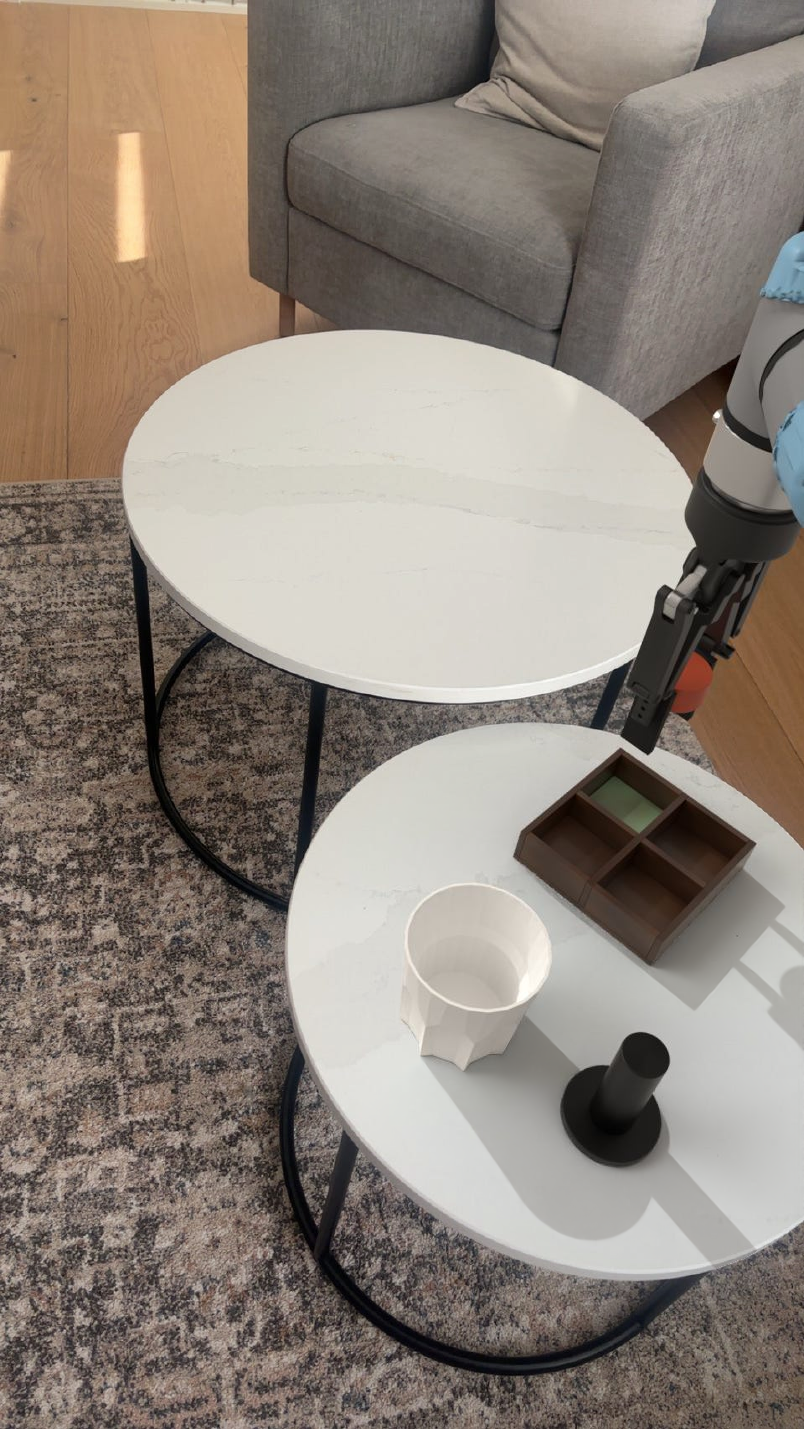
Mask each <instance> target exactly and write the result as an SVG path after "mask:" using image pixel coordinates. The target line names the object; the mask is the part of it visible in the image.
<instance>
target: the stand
mask: <svg viewBox="0 0 804 1429" xmlns="http://www.w3.org/2000/svg"><path fill="white" fill-rule="evenodd" d="M670 1065H671V1057H670V1053H669V1050H668V1047H667V1046H666V1044H665V1043H664V1042H663V1041H662V1040H661V1039H660V1038H659V1037H657V1036H656V1035H654V1034H652V1033H649V1032H646V1031H636V1032H632V1033H630V1034H628V1035H627V1036H626V1037H625V1038H623V1040H622V1042H621V1043H620V1046H619V1048H618V1049H617V1051H616V1053H615V1056H614V1057H613V1059H612V1060H611V1063H610V1064H598V1065H592V1066H588V1067H585V1068H583V1069H581V1070H580V1071H579V1072H577V1073H576V1074H575V1075H574V1076H573V1077H572V1078H571V1079H570V1080H569V1081H568V1083H567V1084H566V1087H565V1089H564V1091H563V1093H562V1096H561V1101H560V1109H559V1110H560V1119H561V1123H562V1126H563V1129H564V1132H565V1133H566V1135H567V1137H568V1139H569V1140H570V1142H571V1143H572V1144H573V1145H574V1146H575V1148H576V1149H577V1150H578V1151H579V1152H580V1153H582V1154H583V1156H585V1157H587V1158H588V1159H590V1160H592V1161H594V1162H596V1163H598V1164H601V1165H603V1166H608V1167H613V1168H614V1167H616V1168H623V1167H628V1166H633V1165H635V1164H638V1163H639V1162H642V1161H643V1160H644V1159H645V1158H646V1157H648V1156H649V1155H650V1153H651V1152H652V1151H653V1149H654V1148H655V1146H656V1145H657V1144H658V1142H659V1139H660V1136H661V1132H662V1126H663V1124H662V1115H661V1114H662V1113H661V1109H660V1106H659V1104H658V1101H657V1098H656V1097H655V1096H654V1092H655V1091H656V1089H657V1087H658V1085H659V1084H660V1082H662V1079H663V1078H664V1076H665V1075H666V1073H667V1071H668V1070H669V1068H670Z"/></svg>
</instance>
